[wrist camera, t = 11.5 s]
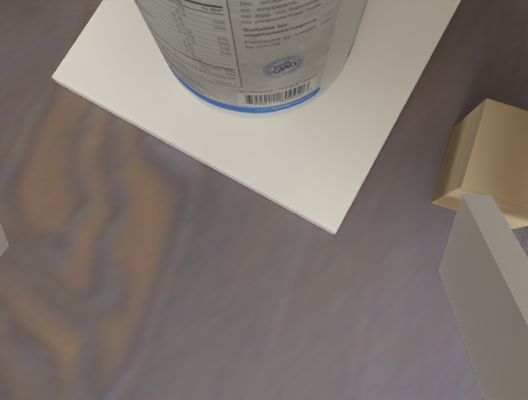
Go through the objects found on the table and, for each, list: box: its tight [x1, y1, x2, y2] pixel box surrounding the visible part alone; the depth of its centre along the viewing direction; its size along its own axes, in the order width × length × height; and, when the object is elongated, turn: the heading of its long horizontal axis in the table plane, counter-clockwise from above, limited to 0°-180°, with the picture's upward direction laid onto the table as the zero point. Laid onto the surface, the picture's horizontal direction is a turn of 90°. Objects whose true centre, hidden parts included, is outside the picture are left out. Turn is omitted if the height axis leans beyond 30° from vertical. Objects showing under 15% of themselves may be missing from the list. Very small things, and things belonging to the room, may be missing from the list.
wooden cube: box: [431, 98, 528, 229], centre depth 22 cm, size 4×4×4 cm
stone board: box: [52, 0, 461, 235], centre depth 25 cm, size 16×14×1 cm
